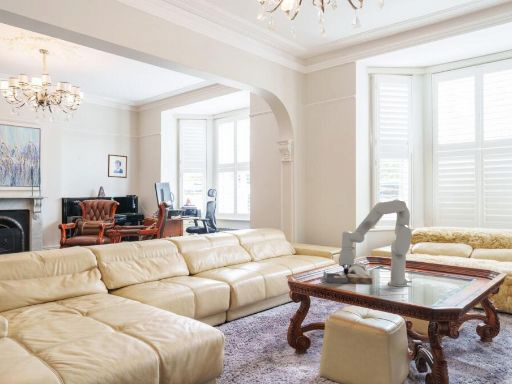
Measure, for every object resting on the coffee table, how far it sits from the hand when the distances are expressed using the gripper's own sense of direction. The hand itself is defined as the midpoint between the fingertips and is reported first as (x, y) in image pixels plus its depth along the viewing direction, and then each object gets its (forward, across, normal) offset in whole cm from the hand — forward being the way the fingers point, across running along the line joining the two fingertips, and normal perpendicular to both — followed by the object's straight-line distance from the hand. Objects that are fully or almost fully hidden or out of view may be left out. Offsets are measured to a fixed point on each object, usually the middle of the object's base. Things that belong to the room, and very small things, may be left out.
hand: (346, 274), depth 272 cm
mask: (+5, -14, -29) cm, 33 cm away
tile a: (+1, +2, 0) cm, 2 cm away
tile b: (+2, +6, 0) cm, 6 cm away
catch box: (+5, +7, 0) cm, 9 cm away
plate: (+5, -9, 0) cm, 10 cm away
